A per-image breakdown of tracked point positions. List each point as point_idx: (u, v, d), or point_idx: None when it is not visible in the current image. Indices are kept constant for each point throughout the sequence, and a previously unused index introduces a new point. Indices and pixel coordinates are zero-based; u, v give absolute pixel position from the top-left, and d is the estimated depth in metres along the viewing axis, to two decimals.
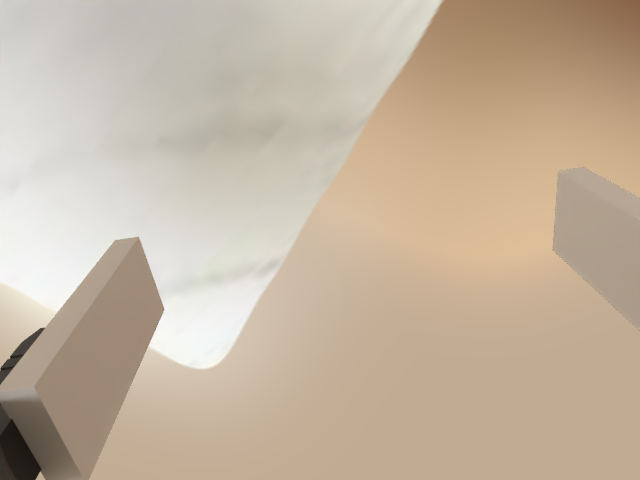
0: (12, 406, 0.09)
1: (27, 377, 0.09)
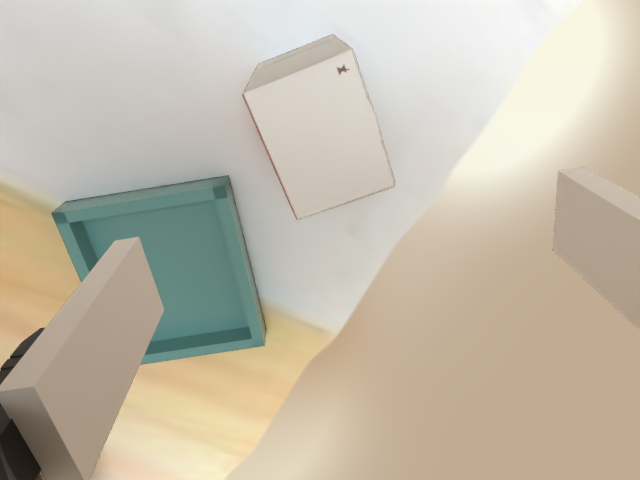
0: (12, 406, 0.09)
1: (27, 377, 0.09)
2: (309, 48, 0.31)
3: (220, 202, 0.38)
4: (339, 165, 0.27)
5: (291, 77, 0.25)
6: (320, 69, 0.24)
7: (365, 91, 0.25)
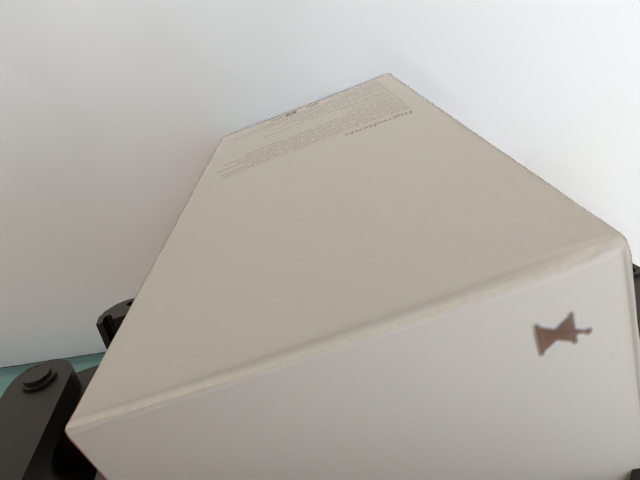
0: None
1: None
2: (345, 125, 0.11)
3: None
4: None
5: (297, 372, 0.05)
6: (451, 336, 0.05)
7: None
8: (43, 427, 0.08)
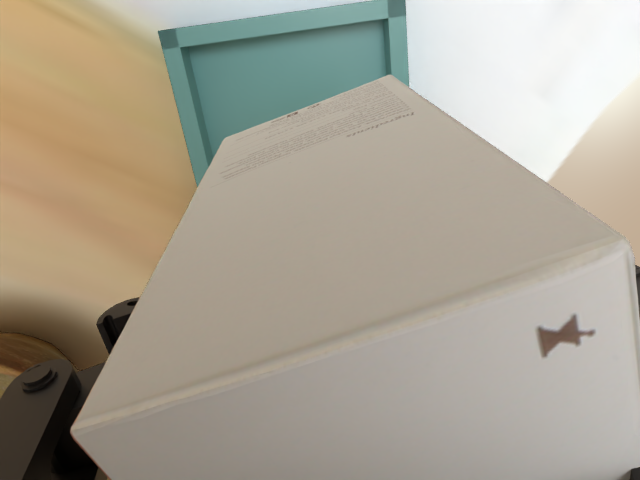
0: None
1: None
2: (347, 126, 0.12)
3: (394, 23, 0.27)
4: None
5: (302, 373, 0.05)
6: (455, 338, 0.05)
7: None
8: (43, 427, 0.08)
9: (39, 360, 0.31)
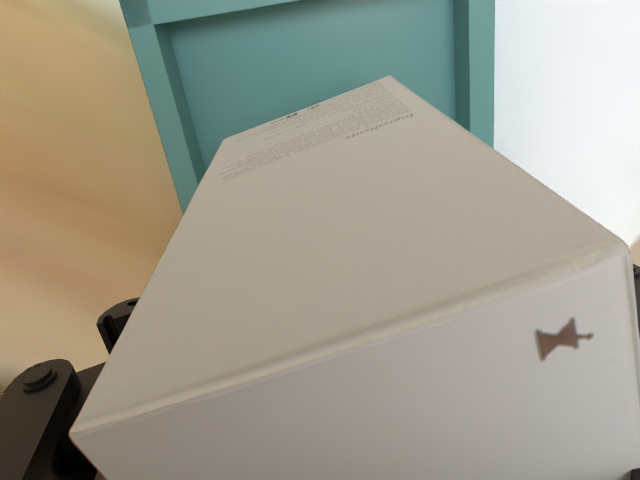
0: None
1: None
2: (346, 128, 0.12)
3: None
4: None
5: (300, 377, 0.05)
6: (453, 341, 0.05)
7: None
8: (43, 427, 0.08)
9: None
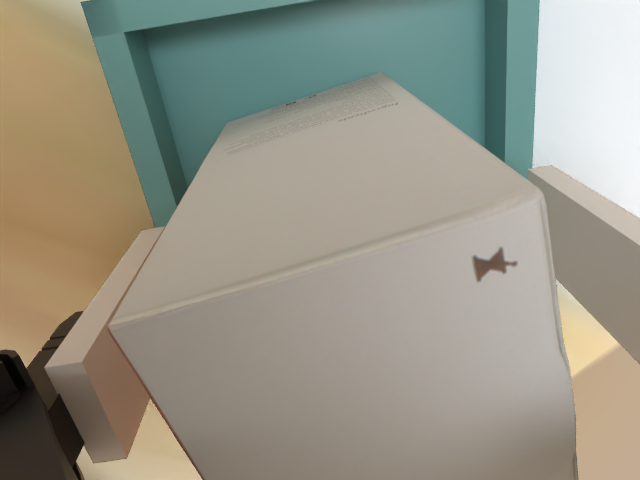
0: (60, 381, 0.09)
1: (74, 354, 0.10)
2: (339, 113, 0.13)
3: None
4: None
5: (292, 285, 0.06)
6: (410, 261, 0.06)
7: (557, 329, 0.07)
8: None
9: None
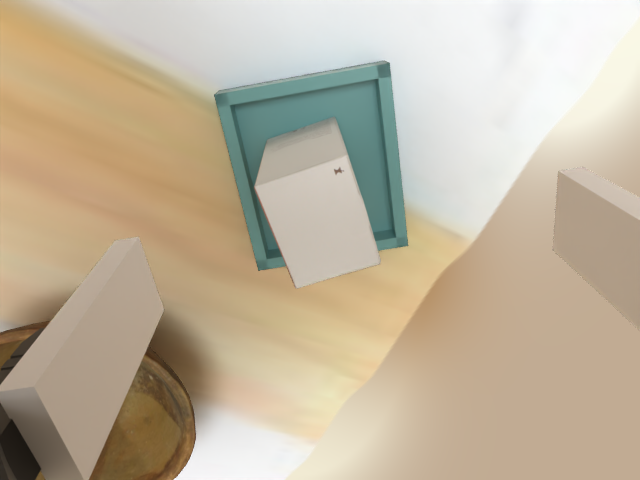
0: (12, 406, 0.09)
1: (27, 377, 0.09)
2: (312, 136, 0.36)
3: (383, 81, 0.38)
4: (333, 245, 0.31)
5: (295, 176, 0.29)
6: (320, 170, 0.29)
7: (357, 188, 0.30)
8: None
9: None
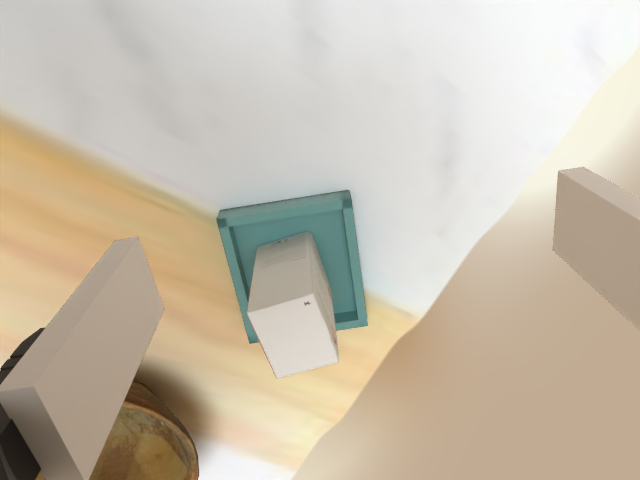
0: (12, 406, 0.09)
1: (27, 377, 0.09)
2: (291, 256, 0.48)
3: (346, 211, 0.49)
4: (304, 351, 0.43)
5: (276, 306, 0.41)
6: (294, 303, 0.41)
7: (321, 313, 0.42)
8: None
9: (147, 398, 0.53)
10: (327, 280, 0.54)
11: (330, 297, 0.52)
